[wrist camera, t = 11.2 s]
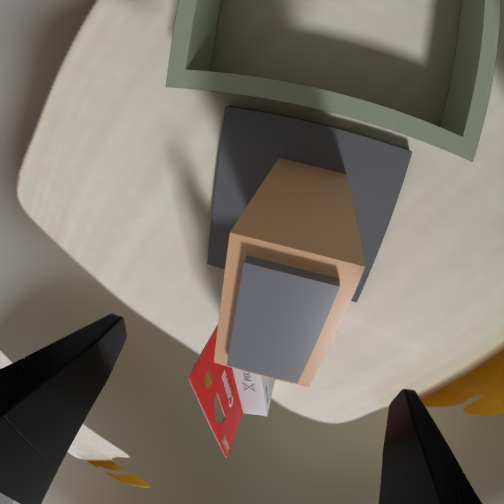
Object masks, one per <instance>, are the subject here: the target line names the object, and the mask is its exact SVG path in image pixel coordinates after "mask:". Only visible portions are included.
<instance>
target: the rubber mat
mask: <svg viewBox="0 0 504 504" xmlns="http://www.w3.org/2000/svg"><path fill="white" fill-rule="evenodd" d="M411 154H412V152H411V151H410V150H408V149H405V148H402V147H399V146H396V145H393V144H390V143H387V142H384V141H381V140H377V139H374V138H371V137H368V136H364V135H361V134H357V133H354V132H350V131H347V130H343V129H339V128H336V127H332V126H328V125H324V124H320V123H315V122H311V121H307V120H302V119H298V118H293V117H289V116H284V115H279V114H274V113H268V112H263V111H257V110H251V109H245V108H239V107H232V106H226V109H225V116H224V123H223V130H222V137H221V145H220V153H219V160H218V168H217V177H216V185H215V194H214V203H213V212H212V221H211V231H210V241H209V251H208V262H207V264H209V265H212V266H216V267H220V268H224V269H225V266H226V258H227V251H228V243H229V236H230V232H231V230H232V229H233V227H234V226H235V224H236V222H237V221H238V219H239V218H240V216H241V215H242V213H243V212H244V210H245V209H246V207H247V206H248V204H249V202H250V201H251V199H252V198H253V196H254V195H255V193H256V192H257V190H258V189H259V187H260V186H261V184H262V183H263V181H264V180H265V178H266V177H267V175H268V174H269V172H270V171H271V169H272V168H273V166H274V165H275V163H276V162H277V160H278V159H279V158H282V159H286V160H291V161H295V162H299V163H304V164H308V165H312V166H316V167H320V168H324V169H328V170H331V171H335V172H339V173H343V174H346V175H347V179H348V183H349V188H350V192H351V196H352V201H353V205H354V210H355V215H356V219H357V224H358V229H359V234H360V240H361V245H362V251H363V256H364V262H365V269H364V271H363V274H362V276H361V279H360V281H359V283H358V286H357V288H356V291H355V293H354V295H353V297H352V300H351V301H354V302H357V300H358V298H359V296H360V293H361V291H362V289H363V287H364V284H365V282H366V280H367V277H368V275H369V273H370V270H371V268H372V265H373V263H374V260H375V258H376V256H377V253H378V251H379V248H380V245H381V243H382V240H383V238H384V235H385V232H386V230H387V227H388V224H389V222H390V219H391V216H392V213H393V210H394V208H395V205H396V202H397V199H398V196H399V193H400V190H401V187H402V184H403V181H404V177H405V174H406V171H407V168H408V164H409V161H410V158H411Z"/></svg>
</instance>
